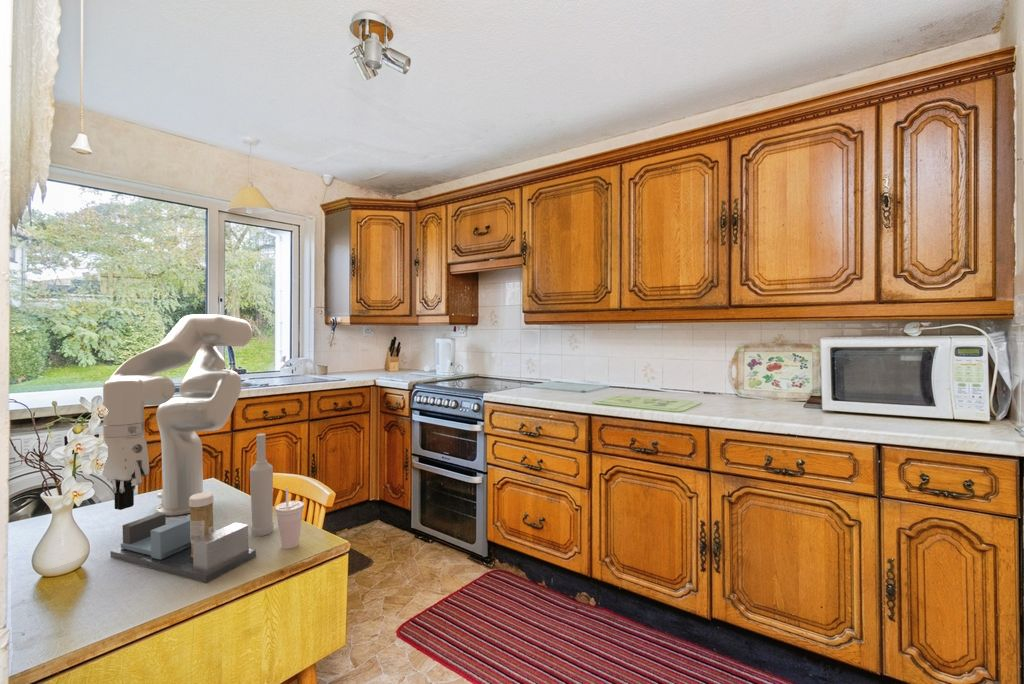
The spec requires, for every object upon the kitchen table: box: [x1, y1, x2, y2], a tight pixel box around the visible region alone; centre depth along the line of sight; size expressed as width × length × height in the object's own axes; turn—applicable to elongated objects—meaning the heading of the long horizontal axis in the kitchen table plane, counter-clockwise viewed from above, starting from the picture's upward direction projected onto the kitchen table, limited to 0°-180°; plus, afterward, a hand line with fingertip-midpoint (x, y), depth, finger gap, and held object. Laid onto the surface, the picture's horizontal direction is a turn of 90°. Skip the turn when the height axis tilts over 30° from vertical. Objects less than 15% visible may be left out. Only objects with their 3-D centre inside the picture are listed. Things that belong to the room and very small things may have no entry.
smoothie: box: [274, 487, 305, 550], centre depth 114 cm, size 6×6×14 cm
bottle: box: [249, 433, 275, 537], centre depth 121 cm, size 5×5×25 cm
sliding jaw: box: [120, 512, 191, 560], centre depth 111 cm, size 14×10×6 cm
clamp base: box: [109, 522, 257, 584], centre depth 108 cm, size 30×12×8 cm, turn 70°
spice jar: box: [189, 491, 215, 558], centre depth 106 cm, size 5×5×14 cm
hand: (124, 507), depth 114 cm, fingers closed
